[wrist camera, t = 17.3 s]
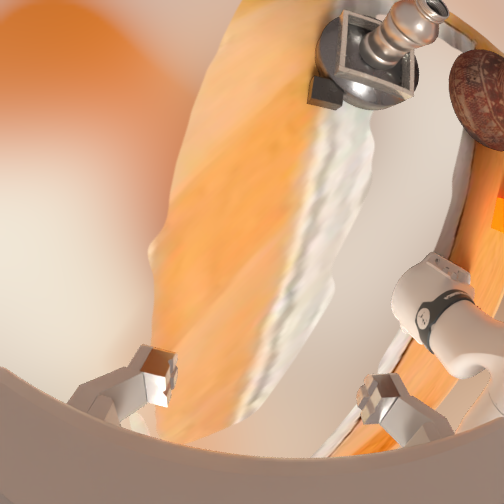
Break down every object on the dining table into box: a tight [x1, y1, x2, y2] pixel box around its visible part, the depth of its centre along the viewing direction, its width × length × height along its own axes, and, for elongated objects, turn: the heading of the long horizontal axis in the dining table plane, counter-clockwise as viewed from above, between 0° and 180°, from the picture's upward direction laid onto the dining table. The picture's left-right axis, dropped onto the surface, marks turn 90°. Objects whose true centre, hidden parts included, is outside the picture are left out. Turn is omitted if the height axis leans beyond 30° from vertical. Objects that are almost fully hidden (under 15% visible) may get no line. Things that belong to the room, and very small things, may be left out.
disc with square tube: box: [307, 10, 419, 110], centre depth 33 cm, size 18×20×8 cm
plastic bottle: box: [359, 0, 449, 70], centre depth 22 cm, size 6×7×20 cm
